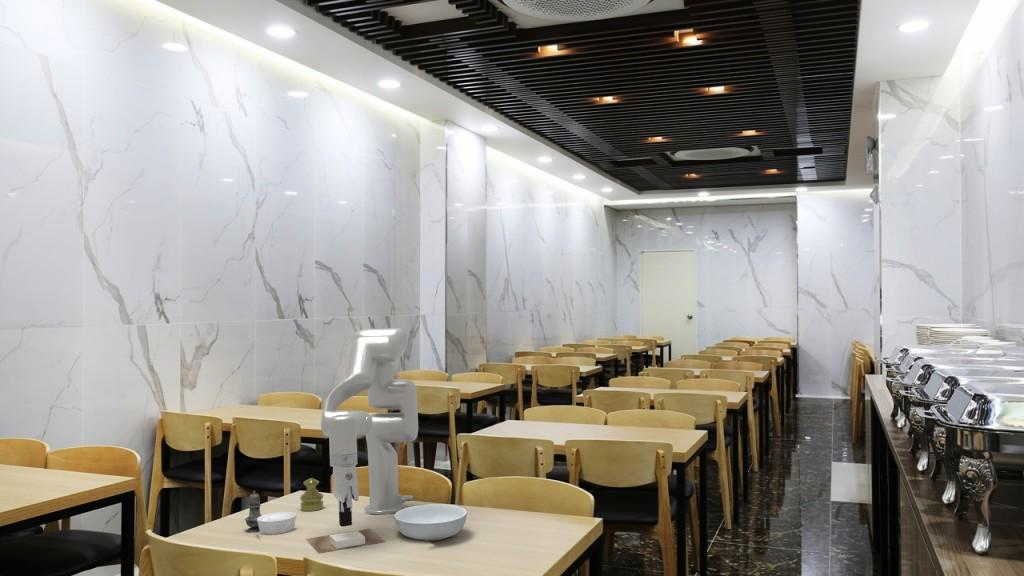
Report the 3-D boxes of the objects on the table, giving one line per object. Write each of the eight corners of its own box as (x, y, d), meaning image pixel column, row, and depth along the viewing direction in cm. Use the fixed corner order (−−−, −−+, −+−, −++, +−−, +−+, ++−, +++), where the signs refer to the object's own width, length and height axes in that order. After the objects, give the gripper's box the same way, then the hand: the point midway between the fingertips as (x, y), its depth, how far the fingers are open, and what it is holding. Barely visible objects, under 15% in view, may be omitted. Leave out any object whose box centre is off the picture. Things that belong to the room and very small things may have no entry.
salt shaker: (259, 532, 244) (258, 492, 244) (241, 532, 245) (240, 492, 245) (268, 527, 250) (267, 488, 250) (251, 527, 251) (250, 488, 251)
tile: (357, 530, 230) (364, 536, 224) (357, 538, 230) (365, 544, 224) (329, 535, 226) (336, 541, 220) (329, 543, 226) (336, 549, 220)
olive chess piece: (305, 506, 275) (304, 476, 275) (326, 506, 274) (325, 476, 274) (296, 511, 268) (296, 481, 268) (318, 511, 267) (317, 481, 267)
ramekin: (250, 535, 242) (249, 517, 242) (283, 526, 250) (283, 509, 250) (270, 541, 235) (269, 523, 235) (303, 532, 243) (303, 515, 243)
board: (369, 532, 240) (369, 528, 240) (387, 546, 226) (386, 541, 226) (305, 543, 231) (305, 538, 231) (318, 558, 217) (318, 553, 217)
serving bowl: (410, 552, 220) (409, 526, 220) (385, 533, 238) (384, 510, 238) (479, 539, 229) (478, 515, 230) (450, 522, 248) (449, 500, 248)
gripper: (364, 462, 222) (366, 529, 221) (349, 453, 235) (351, 517, 235) (337, 465, 218) (339, 533, 218) (323, 456, 231) (325, 521, 231)
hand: (345, 525), depth 226 cm, fingers closed
